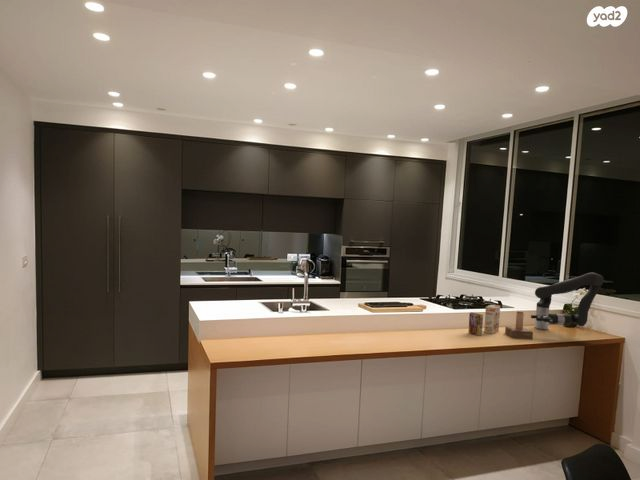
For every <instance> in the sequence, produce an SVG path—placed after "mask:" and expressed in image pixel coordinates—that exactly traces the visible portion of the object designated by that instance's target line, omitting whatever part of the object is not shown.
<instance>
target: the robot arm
mask: <svg viewBox="0 0 640 480" xmlns="http://www.w3.org/2000/svg"><path fill="white" fill-rule="evenodd" d="M604 279H605V278H604V276H602V274H599V273H596V272H588V273H584V274H583V275H580V276H576V277H574V278H569V279H565V280H562V281H559V282H556V283H553V284H551V285H546V286H539V287H537V288H536V289H535V291H534V294H535V295H534V296H535V297H537V298H538V299H539V301H538V302H537V303H536V310H535V311H536V312H535V315H534V314H530V318H531V319H535V326H534V328H535V329H540V330H548V329H549V324H550V325H572V324H575V325H577V326H578V327H584V326H585V325H586V324H587V322H588V317H589V311H590V308H591V306H592V303H593V302H594V299H595V298H596V295H597V294H598V292H599V290H600V289H601V287H602V286H603V283H604ZM585 286H590V287H589V289H588V291H587V292H586V293H585V294H584V296H582V298H581V299H580V301H579V303H578V306H577V311H578V314H575V313H573V314H561V313H550V306H551V303H552V295H560V294H561V295H562V294H567V293H571V292H574V291H576V290H577V289H578V288H580V287H585Z"/></svg>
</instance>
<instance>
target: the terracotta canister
mask: <svg viewBox="0 0 640 480" xmlns="http://www.w3.org/2000/svg"><path fill="white" fill-rule="evenodd" d="M524 315H525V313H524V312H523V311H521V310H517V311H516V316H515V317H516V318H515V327H516V329H518V330H523V327H524Z"/></svg>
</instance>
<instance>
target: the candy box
mask: <svg viewBox="0 0 640 480" xmlns="http://www.w3.org/2000/svg"><path fill="white" fill-rule="evenodd" d="M468 318H469V319H468V331H467V332H468V334H470V335H474V336H479V337H480V336H482V335H483V325H484V324H483V322H484V314H482V313H478V312H469V317H468Z"/></svg>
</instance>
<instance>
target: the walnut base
mask: <svg viewBox="0 0 640 480" xmlns="http://www.w3.org/2000/svg"><path fill="white" fill-rule="evenodd" d="M504 329H505V331H504V332H505V333H504V334H505V335H506V336H507V335H508V336H509V337H510V338H512V339H525V340H527V339H528V340H533V338H534V337H533V336H534V332H533V331H532V330H530V329H528V328H526V327H525V326H523V330H518V329H516V326H505V328H504Z"/></svg>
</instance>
